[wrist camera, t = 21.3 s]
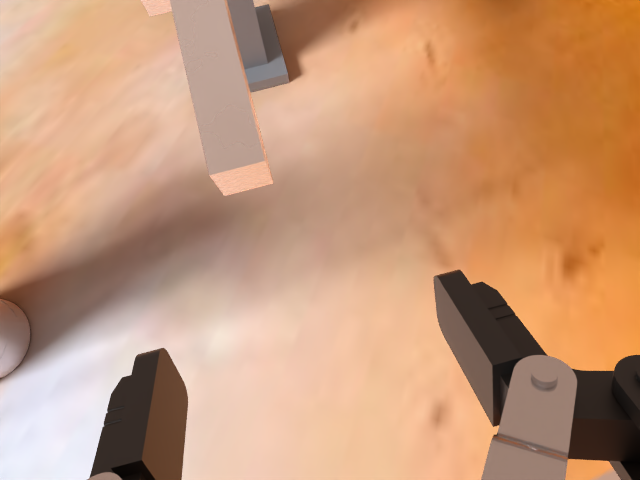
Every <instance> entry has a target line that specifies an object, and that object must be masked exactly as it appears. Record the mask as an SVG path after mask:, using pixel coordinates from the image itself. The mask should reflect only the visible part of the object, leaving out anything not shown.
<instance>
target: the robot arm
mask: <svg viewBox="0 0 640 480" xmlns="http://www.w3.org/2000/svg"><path fill="white" fill-rule="evenodd" d="M434 289H435V300H436V310H437V318H438V322H439V325H440V328H441V331H442V333H443V335H444V337H445V339H446V341H447V343H448V345H449V346H450V348H451V350H452V352H453V354H454V356H455V357H456V359H457V361H458V363H459V365H460V367H461V368H462V370H463V372H464V374H465V376H466V378H467V379H468V381H469V383H470V385H471V387H472V389H473V390H474V392H475V394H476V396H477V398H478V400H479V401H480V403H481V405H482V407H483V409H484V411H485V413H486V414H487V416H488V418H489V420H490V422H491V424H492V425H493V427H494V426H498V425H499V429H498V433H497V435H494V436H493V438H492V441H491V444H490V448H489V452H488V455H487V459H486V463H485V467H484V471H483V475H482V479H481V480H565V476H566V468H567V460H568V459H584V460H603V461H609V462H610V464H611V465H612V467H613V468H614V470H615V471H616V473H617V474H618V476H619V477H620V479H621V480H640V355H633V356H628V357H625V358H623V359H621V360H620V361H619V362H618V363H617V364H616V367H615V370H614V371H581V370H575V369H571V368H570V367H569V366H568V365H567V364H566V363H564V362H563V361H561V360H559V359H557V358H554V357H550V356H548V355H547V354H546V353H545V352H544V351H543V349H542V348H541V347H540V345H539V344H538V343H537V342H536V340H535V339H534V338H533V336H532V335H531V334H530V332H529V331H528V330H527V329H526V327H525V326H524V325H523V323H522V322H521V321H520V319H519V318H518V317H517V316H515V313H514V312H513V310H512V309H511V308H510V306H508V305H507V302H506V301H505V300H504V299H503V297H502V296H501V295H500V293H499V292H498V291H497V290H495V289H494V288H492V287H490V286H489V285H487V284H485V283H483V282H479V283H476V284H472V285H471V284H470V283H469V281H468V280H467V278H466V277H465V275H464V274H463V273H462V271H461V270H455V271H452V272H448V273H444V274H440V275H437V276H434ZM29 342H30V326H29V322H28V320H27V317H26V315H25V314H24V312H23V311H22V310H21V309H20V308H19V307H18V306H17V305H16V304H14V303H12V302H10V301H8V300H3V299H0V378H2V377H4V376H6V375H7V374H9V373H10V372H12V371H13V370H14V369H15V368H16V367H17V366H18V365H19V364H20V362H21V361H22V360H23V358H24V356H25V354H26V352H27V350H28V347H29ZM187 409H188V396H187V390H186V387H185V384H184V382H183V380H182V378H181V376H180V374H179V372H178V370H177V369H176V367H175V365H174V363H173V361H172V359H171V357H170V356H169V354H168V352H167V350H166V349H164V348H161V349H157V350H153V351H150V352H146V353H142V354H138V355H137V356H136V358H135V361H134V366H133V370H132V375H130V376H126V377H122V379H121V380H120V382H119V383H118V385H117V386H116V388H115V389H114V391H113V392H112V394H111V397H110V401H109V405H108V409H107V411H108V413H106V417H105V421H104V427H103V428H102V432H101V436H100V440H99V444H98V448H97V452H96V456H95V460H94V463H93V467H92V471H91V475H90V478H89V479H88V480H181V477H182V466H183V454H184V443H185V431H186V420H187Z"/></svg>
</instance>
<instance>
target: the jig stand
mask: <svg viewBox="0 0 640 480" xmlns="http://www.w3.org/2000/svg"><path fill="white" fill-rule="evenodd" d="M227 3H228V7H229V11H230V15H231V19H232V23H233V27H234V30H235V34H236V38H237V42H238V46H239V50H240V54H241V58H242V62H243V66H244V70H245V74H246V77H247V81H248V85H249V89H250V92H254V91H258V90H262V89H266V88H270V87H274V86H278V85H282V84H286V83H289V77H288V72H287V69H286V65H285V62H284V58H283V54H282V51H281V47H280V43H279V40H278V36H277V33H276V29H275V25H274V22H273V18H272V15H271V11H270V7H269V4H268V5H264V6H260V7H256V8H255V7H254V3H253V0H227Z"/></svg>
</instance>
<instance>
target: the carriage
mask: <svg viewBox="0 0 640 480" xmlns="http://www.w3.org/2000/svg"><path fill="white" fill-rule="evenodd" d="M141 2H142V3H143V5H144V7H145V9H146V11H147V12H148V14H149V16H154V15H158V14H162V13H166V12H170V11H172V13H173V17H174V22H175V26H176V30H177V35H178V39H179V44H180V48H181V53H182V57H183V61H184V66H185V70H186V75H187V79H188V84H189V88H190V92H191V97H192V101H193V106H194V110H195V115H196V119H197V123H198V128H199V132H200V137H201V141H202V146H203V150H204V154H205V159H206V163H207V168H208V172H209V176H210V177H211V179H212V180H213V181H214V183H215V184H216V185H217V187H218V188H219V189H220V191H221V192H222V193H223V195H224V196H227V195H231V194H235V193H238V192H242V191H246V190H250V189H254V188H258V187H261V186H265V185H269V184H273V179H272V175H271V172H270V168H269V164H268V160H267V156H266V152H265V148H264V144H263V140H262V136H261V132H260V128H259V124H258V121H257V117H256V113H255V109H254V105H253V101H252V97H251V93H250V89H249V85H248V81H247V77H246V74H245V70H244V66H243V62H242V58H241V54H240V50H239V46H238V42H237V38H236V34H235V30H234V27H233V23H232V19H231V15H230V11H229V7H228V3H227V0H141Z"/></svg>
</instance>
